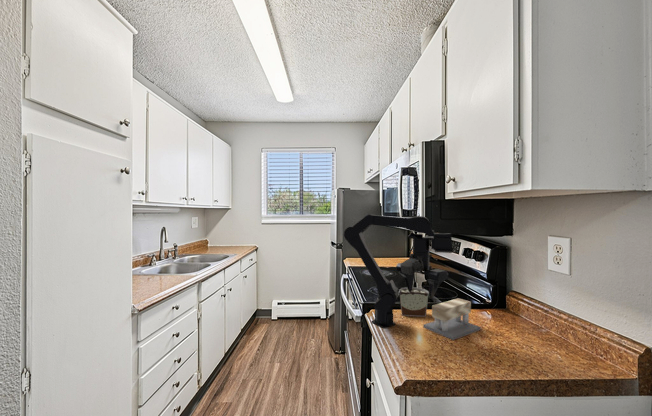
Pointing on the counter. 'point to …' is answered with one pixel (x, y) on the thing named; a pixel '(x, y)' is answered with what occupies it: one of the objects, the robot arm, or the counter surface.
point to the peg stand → (452, 327)
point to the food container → (413, 302)
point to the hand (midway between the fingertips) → (420, 295)
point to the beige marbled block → (451, 309)
